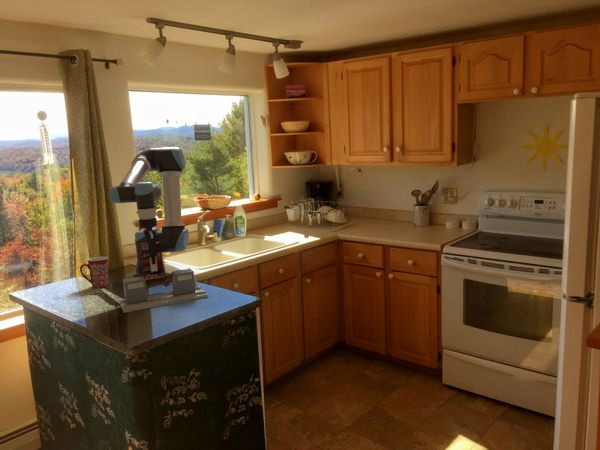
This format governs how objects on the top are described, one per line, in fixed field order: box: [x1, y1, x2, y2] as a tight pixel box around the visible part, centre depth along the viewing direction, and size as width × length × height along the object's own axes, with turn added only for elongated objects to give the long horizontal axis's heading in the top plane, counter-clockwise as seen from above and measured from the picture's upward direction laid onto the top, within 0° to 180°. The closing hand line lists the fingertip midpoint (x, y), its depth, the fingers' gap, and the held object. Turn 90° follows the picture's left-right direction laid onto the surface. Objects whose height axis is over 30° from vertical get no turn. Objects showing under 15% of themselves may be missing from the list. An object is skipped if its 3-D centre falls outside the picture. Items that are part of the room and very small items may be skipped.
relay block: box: [194, 274, 198, 287], centre depth 228 cm, size 5×5×6 cm
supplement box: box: [140, 241, 165, 281], centre depth 222 cm, size 9×5×16 cm, turn 116°
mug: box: [79, 256, 109, 289], centre depth 240 cm, size 13×9×14 cm
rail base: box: [119, 268, 208, 314], centre depth 211 cm, size 13×34×11 cm, turn 116°
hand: (153, 269), depth 223 cm, fingers closed on supplement box, 5 cm apart
